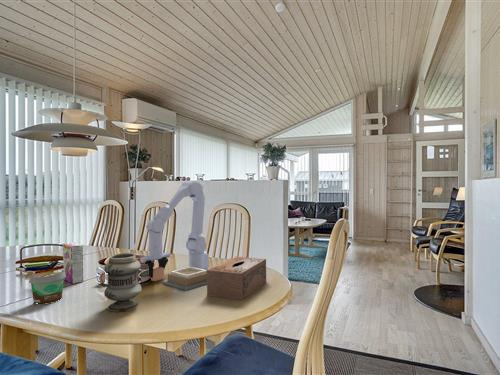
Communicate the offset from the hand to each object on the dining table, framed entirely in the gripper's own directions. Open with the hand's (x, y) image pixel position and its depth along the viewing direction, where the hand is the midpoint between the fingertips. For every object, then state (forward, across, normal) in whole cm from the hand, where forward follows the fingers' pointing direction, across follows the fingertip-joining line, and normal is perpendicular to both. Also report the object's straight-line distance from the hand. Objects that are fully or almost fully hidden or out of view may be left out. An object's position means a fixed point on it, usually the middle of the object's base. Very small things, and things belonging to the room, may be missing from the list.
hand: (156, 275), depth 150 cm
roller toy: (+2, +17, -11) cm, 20 cm away
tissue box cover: (+2, -14, +38) cm, 40 cm away
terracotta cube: (+1, 0, 0) cm, 1 cm away
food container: (+2, +41, -5) cm, 41 cm away
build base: (+1, -6, +16) cm, 17 cm away
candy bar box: (+2, +25, -27) cm, 37 cm away
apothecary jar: (+2, +27, +21) cm, 34 cm away
